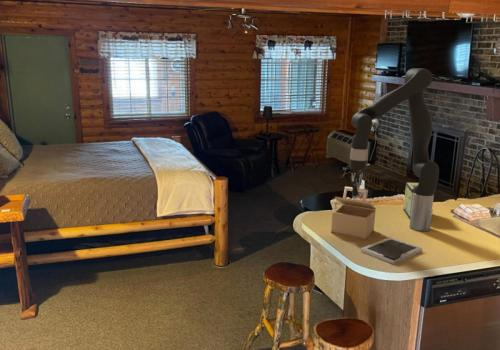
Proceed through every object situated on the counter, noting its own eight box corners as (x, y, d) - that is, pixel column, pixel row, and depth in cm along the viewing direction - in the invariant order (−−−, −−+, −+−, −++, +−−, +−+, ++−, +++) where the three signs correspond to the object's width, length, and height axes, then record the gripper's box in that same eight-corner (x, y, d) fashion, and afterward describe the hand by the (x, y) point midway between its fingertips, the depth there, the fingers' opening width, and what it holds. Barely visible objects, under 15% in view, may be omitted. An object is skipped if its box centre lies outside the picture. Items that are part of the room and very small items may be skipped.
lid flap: (375, 209, 221) (378, 195, 222) (369, 204, 209) (372, 189, 210) (342, 204, 228) (345, 190, 229) (334, 198, 216) (337, 184, 217)
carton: (373, 230, 223) (375, 210, 221) (365, 239, 211) (367, 218, 209) (340, 224, 231) (342, 204, 228) (331, 232, 219) (332, 212, 216)
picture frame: (393, 265, 187) (421, 252, 200) (393, 258, 186) (422, 246, 199) (360, 252, 199) (389, 241, 212) (361, 246, 198) (390, 235, 211)
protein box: (422, 210, 254) (426, 182, 250) (430, 220, 239) (434, 190, 235) (402, 209, 255) (405, 181, 251) (409, 219, 240) (412, 189, 236)
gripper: (362, 161, 205) (359, 200, 209) (370, 157, 217) (367, 193, 221) (345, 159, 209) (342, 197, 212) (354, 155, 220) (351, 191, 224)
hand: (355, 195), depth 217 cm, fingers closed on lid flap
